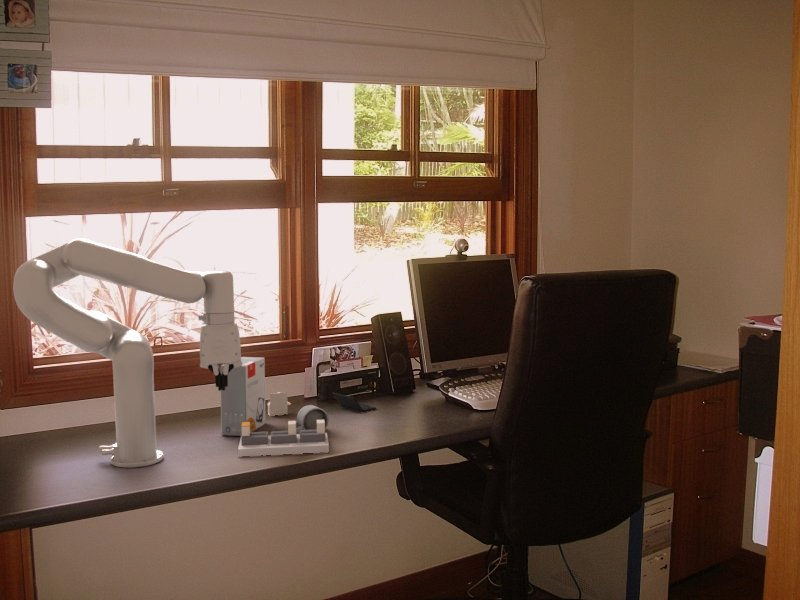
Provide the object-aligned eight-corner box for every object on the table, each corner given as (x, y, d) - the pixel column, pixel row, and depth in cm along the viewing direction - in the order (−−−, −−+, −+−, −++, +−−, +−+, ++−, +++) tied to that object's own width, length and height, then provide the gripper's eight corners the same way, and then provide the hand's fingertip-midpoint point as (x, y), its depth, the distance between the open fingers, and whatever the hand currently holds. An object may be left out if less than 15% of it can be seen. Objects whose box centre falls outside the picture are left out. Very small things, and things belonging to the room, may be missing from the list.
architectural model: (266, 415, 251) (265, 391, 250) (287, 412, 254) (287, 389, 253) (269, 418, 248) (269, 394, 247) (291, 415, 251) (291, 391, 250)
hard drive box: (246, 437, 224) (244, 366, 222) (220, 436, 226) (218, 365, 224) (266, 423, 240) (264, 356, 238) (242, 422, 241) (240, 355, 239)
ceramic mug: (320, 426, 235) (319, 400, 234) (329, 433, 227) (328, 406, 227) (284, 431, 231) (283, 405, 230) (292, 438, 223) (291, 411, 222)
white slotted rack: (238, 457, 206) (237, 430, 205) (241, 443, 218) (240, 419, 217) (328, 452, 209) (328, 426, 208) (327, 439, 221) (326, 415, 220)
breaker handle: (241, 436, 210) (241, 425, 210) (242, 432, 214) (242, 422, 213) (249, 435, 210) (249, 425, 210) (250, 432, 214) (249, 421, 213)
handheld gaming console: (380, 403, 257) (364, 382, 252) (370, 421, 252) (353, 399, 247) (353, 403, 264) (337, 382, 259) (343, 420, 259) (326, 399, 255)
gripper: (187, 321, 203) (190, 393, 205) (248, 320, 205) (250, 391, 207) (191, 318, 211) (194, 387, 213) (249, 316, 213) (252, 385, 215)
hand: (222, 389), depth 210 cm, fingers closed
